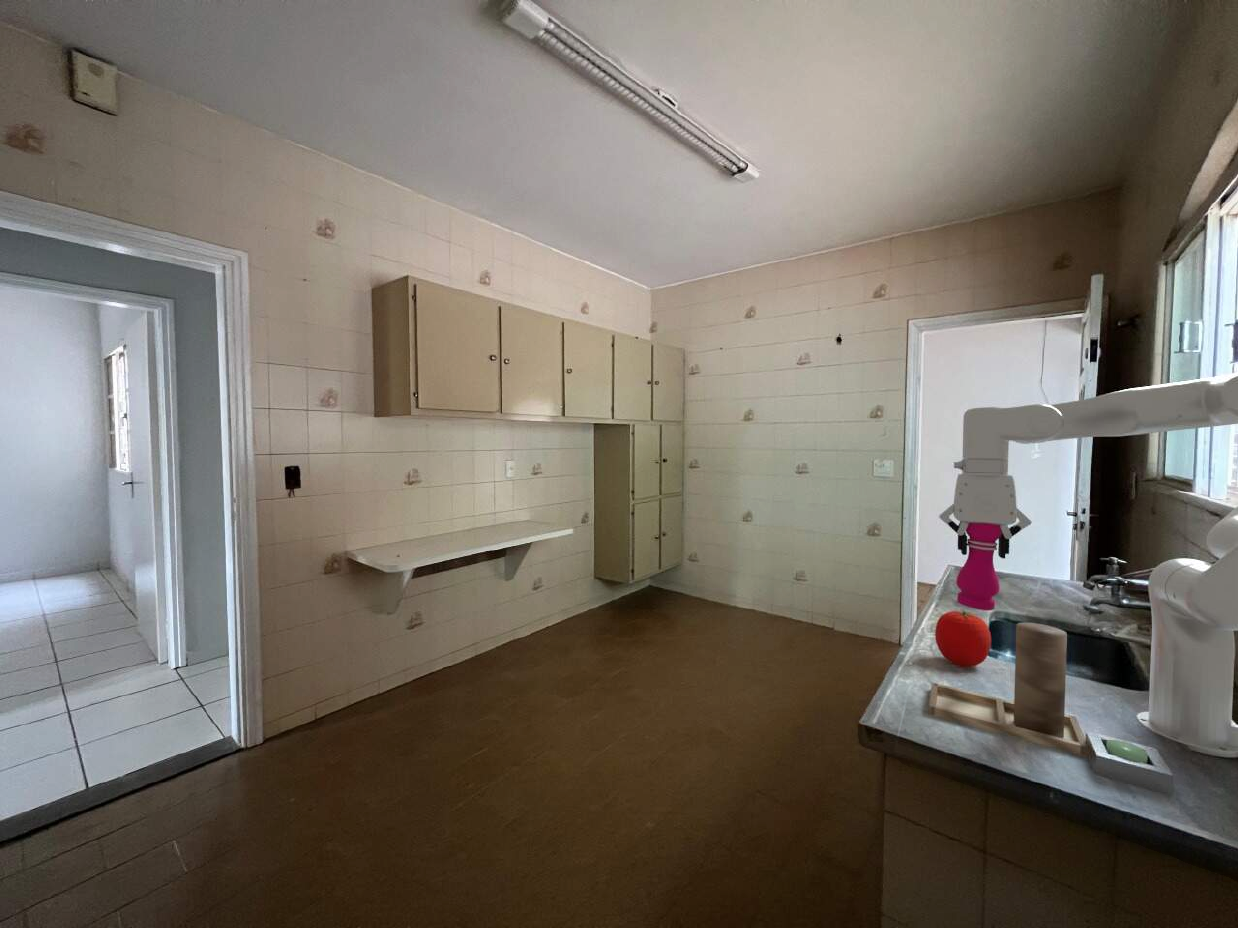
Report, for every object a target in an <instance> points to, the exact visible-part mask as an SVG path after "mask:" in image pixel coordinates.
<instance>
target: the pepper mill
mask: <svg viewBox="0 0 1238 928" xmlns="http://www.w3.org/2000/svg"><path fill="white" fill-rule="evenodd" d="M965 533H966V535H967V537H969V538H967V547H968V553H967V559H966V561H965V563H964V564H963V566H962V567H961V569H960V570H959V572H958V574H957V576H956V580H955V581H956V582H955V583H956V585H957V587H958V588H959V590H960V592H958V593H957V598H956V601H957V603H958V604H960V605H962V606H965V607H967V608H971V609H975V610H981V611H993V610H995V605H996V601H995V599H994V598H993V597H995V596H996V595H998V594H999V592H1000V580H999V577H998V574H997V572H996V569H995V567H994V566H995V565H994V553H995V551H997V550H998V548H997V547H998V543H997V541H998V540H999V538H1000V537H1001V535H1002V530H1001V527H1000V525H995V524H987V523H969V525H968V527H967V529H966V531H965Z"/></svg>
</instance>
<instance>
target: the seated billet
mask: <svg viewBox="0 0 1238 928" xmlns="http://www.w3.org/2000/svg"><path fill="white" fill-rule="evenodd" d="M1015 629H1016V630H1015V657H1014V660H1015V664H1014V666H1015V668H1014V691H1013V692H1014V693H1013V702H1014V725H1015V726H1017V727H1021V728H1024V729H1028V730H1032V731H1036V732H1040V733H1044V734H1047V735H1051V736H1055V737H1059V738H1063V737H1064V714H1065V713H1066V712H1065V708H1066V707H1065V705H1066V704H1065V703H1066V676H1067V675H1066V674H1067V651H1068V650H1067V648H1068V646H1067V645H1068V640H1067V639H1068V634H1067V632H1066V631H1064V630H1062V629H1060V628H1058V627H1055V626H1050V625H1047V624H1042V623H1034V622H1018V623H1016V628H1015Z"/></svg>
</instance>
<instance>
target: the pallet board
mask: <svg viewBox="0 0 1238 928" xmlns="http://www.w3.org/2000/svg"><path fill="white" fill-rule="evenodd" d="M928 715H931V716H934V717H938V718H941V719H946V720H949V721H952V722H957V723H961V724H964V725H967V726H972V727H974V728H979V729H982V730H986V731H989V732H993V733H998V734H1002V735H1005V736H1008V737H1012V738H1015V739H1020V740H1024V741H1026V742H1031V743H1034V744H1038V745H1042V746H1046V747H1049V748H1053V749H1057V750H1061V751H1064V752H1067V753H1071V754H1074V755H1078V756H1083V757H1085V758H1089V747H1088V744H1087V742H1086V736H1085V735H1084V732H1083V730H1082V728H1081V725H1080V723H1079V721H1078V718H1077V716H1074V715H1069V714H1065V713H1064V737H1063V738H1059V737H1055V736H1051V735H1047V734H1044V733H1040V732H1036V731H1032V730H1028V729H1024V728H1021V727H1017V726H1015V725H1014V701H1011V700H1008V699H1007V700H1006V699H1002V698H998V697H993V696H990V695H986V694H981V693H978V692H973V691H968V690H965V689H960V688H957V687H953V686H947V685H943V684H941V683H940V684H939V683H935V682H931V688H930V696H929V702H928Z"/></svg>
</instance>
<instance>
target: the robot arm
mask: <svg viewBox="0 0 1238 928" xmlns="http://www.w3.org/2000/svg"><path fill="white" fill-rule="evenodd" d="M962 418H963V421H962V422H963V423H962V425H963V427H962V459H961V460H960V461H954V462H953V468H954V469H958V470H961V473H958V474H957V478H956V483H955V484H956V485H955V489H954V497H953V503H952V504H951V505H950V506H949V507H947V508H946V509H945V510H944V511H943V512H942V513H940V514H939V516H938V517H939V519H940V520H941V521H942V522H943V523H945V524H946V525H947V526H949V528H951V529H952V530H953V531H954V532H955V533H956V534H957V550H958V551H960V552H961V554H962V555H963V556H966V555H968V546H967V543H968V541H967V540H968V535H967V533H966V529H967V527H968V525H969V523H987V524H995V525H1000V527H1001V530H1002V535H1001V537H1000V538H999V539H998V545H997V547H998V548H997V550H998V551H997V554H998V557H999V558H1000V559H1006V555H1009V554H1010V540H1011V539H1012V538H1013V536H1016V535H1017V534H1018V533H1020V532H1021V531H1022V530H1024V529H1025V528H1027V527H1029V526H1030V525H1032V520H1031V519H1030V518H1028V517H1027V516H1026V515H1025V514H1024V513H1023V512H1022V511H1021V510H1020V509H1018V507H1017V491H1016V483H1015V478H1014V476H1013V475H1012V474H1010V475H1009V446H1010V445H1009V444H1010V443H1009V442H1010V441H1011V442H1015V443H1018V444H1023V445H1024V444H1026V445H1028V444H1040V443H1045V442H1052V441H1054V442H1055V441H1060V440H1061V441H1063V440H1071V439H1083V438H1093V437H1094V438H1095V437H1125V436H1137V435H1146V434H1148V435H1149V434H1158V433H1164V432H1173V431H1174V432H1175V431H1181V430H1191V429H1192V430H1193V429H1202V428H1211V427H1213V428H1214V427H1220V426H1230V425H1237V424H1238V372H1235V373H1230V374H1225V375H1221V376H1220V375H1219V376H1214V377H1213V376H1212V377H1206V378H1200V379H1193V380H1185V381H1180V382H1172V383H1171V382H1170V383H1164V384H1158V385H1150V386H1142V387H1134V388H1128V389H1123V390H1119V391H1113V392H1110V393H1105V394H1101V395H1097V396H1094V397H1088V398H1084V399H1081V400H1080V399H1079V400H1073V401H1068V402H1062V403H1054V404H1053V403H1052V404H1041V403H1040V404H1039V403H1036V404H1027V405H1023V406H1022V405H1021V406H1012V407H997V406H996V407H995V406H991V407H990V406H989V407H988V406H985V407H984V406H983V407H975V408H970V409H967V410H966V411H965V412H964V413H963V417H962ZM952 514H953V517H954V518H955V519H956V520H957V521H959V524H957V523H956V522H955V521H954V520H952V519H951V518H950V516H951V515H952ZM1017 519H1018V522H1017ZM1016 522H1017V523H1016ZM1009 525H1012V526H1010V527H1009ZM1206 546H1207V549H1208V551H1210V552H1211V553H1212V555H1214V556H1215V557H1216V558H1218V560H1216V561H1215V563H1210V562H1207V561H1203V560H1200V559H1199V560H1198V559H1195V558H1184V557H1183V558H1173V559H1169V560H1166V561H1163V562H1162V563H1160V564H1158V565H1157V566H1156V567H1155V568H1154V569H1153V570H1152V571H1151V573H1150V575H1149V578H1148V584H1147V585H1148V586H1147V589H1148V597H1149V604H1150V609H1151V627H1152V628H1151V642H1150V643H1151V644H1150V645H1151V646H1150V650H1151V651H1150V673H1149V698H1148V699H1149V700H1148V701H1149V702H1148V711H1142V712H1139V713H1137V714H1136V716H1135V717H1136V720H1137V722H1138V723H1139V724H1141V725H1142V726H1143V727H1145V728H1146V729H1148V730H1150V731H1151V732H1153V733H1156V734H1158V735H1159V736H1161V737H1164V738H1167V739H1168V740H1171V741H1175V742H1177V743H1181V744H1182V745H1185V746H1186V747H1187V749H1189V751H1193V752H1196V753H1201V754H1204V755H1208V756H1213V757H1218V758H1219V757H1221V758H1238V724H1236V722H1235V721H1234V720H1233V717H1232V716H1233V695H1234V692H1233V691H1234V670H1235V658H1236V642H1235V634H1234V632H1235V631H1237V632H1238V506H1236V507H1235V508H1233V510H1231V511H1230V512H1229V513H1228V514H1226V515H1225V516H1224V517H1223V518H1222V519H1221V520H1219V521H1218V522H1216V523H1215V524H1214V526H1212V528H1211V529H1210V530H1209V532H1208V533H1207V536H1206Z"/></svg>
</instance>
